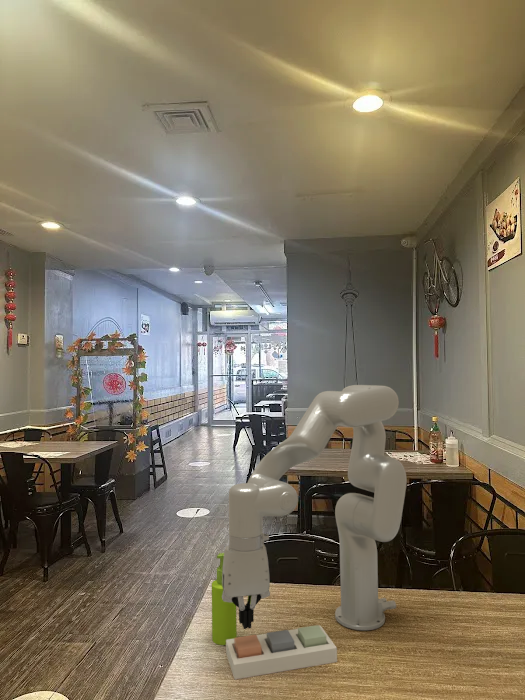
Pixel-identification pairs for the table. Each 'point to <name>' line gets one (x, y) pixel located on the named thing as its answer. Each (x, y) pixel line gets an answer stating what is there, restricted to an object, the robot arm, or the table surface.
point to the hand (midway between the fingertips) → (246, 625)
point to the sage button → (311, 636)
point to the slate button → (280, 641)
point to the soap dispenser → (222, 611)
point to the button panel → (280, 657)
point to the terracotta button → (247, 646)
